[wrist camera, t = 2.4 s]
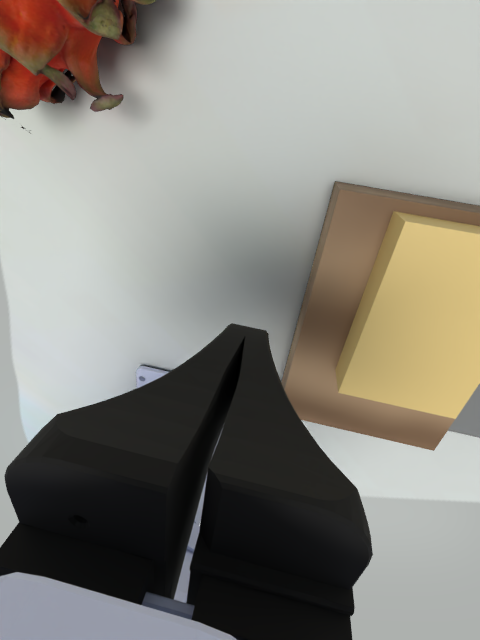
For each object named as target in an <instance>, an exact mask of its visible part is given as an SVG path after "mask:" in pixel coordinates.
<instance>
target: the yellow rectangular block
mask: <svg viewBox="0 0 480 640" xmlns="http://www.w3.org/2000/svg"><path fill="white" fill-rule="evenodd" d="M335 371H336V379H337V387H338V393H341V394H346V395H350V396H355V397H359V398H364V399H368V400H373V401H377V402H382V403H386V404H391V405H395V406H399V407H404V408H408V409H413V410H417V411H422V412H426V413H431V414H435V415H440V416H444V417H449V418H453V419H456V418H457V416H458V415H459V413H460V412H461V410H462V409H463V407H464V406H465V404H466V403H467V401H468V400H469V398H470V397H471V395H472V394H473V392H474V391H475V389H476V388H477V387H478V385H479V384H480V226H476V225H470V224H464V223H458V222H453V221H447V220H441V219H436V218H430V217H424V216H418V215H413V214H407V213H401V212H396V211H393V214H392V217H391V220H390V222H389V225H388V228H387V231H386V233H385V236H384V239H383V241H382V244H381V247H380V250H379V252H378V255H377V258H376V260H375V263H374V266H373V269H372V271H371V274H370V277H369V279H368V282H367V285H366V288H365V290H364V293H363V296H362V298H361V301H360V304H359V307H358V309H357V312H356V315H355V318H354V320H353V323H352V326H351V328H350V331H349V334H348V337H347V339H346V342H345V345H344V347H343V350H342V353H341V356H340V358H339V361H338V364H337V366H336V369H335Z"/></svg>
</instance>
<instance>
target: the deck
mask: <svg viewBox="0 0 480 640" xmlns="http://www.w3.org/2000/svg"><path fill="white" fill-rule="evenodd" d="M393 211H396V212H401V213H407V214H413V215H418V216H424V217H430V218H436V219H441V220H447V221H453V222H458V223H464V224H470V225H476V226H480V206H477V205H471V204H465V203H460V202H454V201H448V200H442V199H436V198H430V197H424V196H418V195H413V194H407V193H401V192H395V191H389V190H383V189H377V188H371V187H365V186H360V185H354V184H348V183H342V182H336V181H335V183H334V187H333V190H332V194H331V198H330V202H329V205H328V209H327V213H326V217H325V220H324V224H323V228H322V232H321V235H320V239H319V243H318V247H317V250H316V254H315V258H314V262H313V266H312V269H311V273H310V277H309V281H308V284H307V288H306V292H305V296H304V299H303V303H302V307H301V311H300V314H299V318H298V322H297V326H296V329H295V333H294V337H293V341H292V344H291V348H290V352H289V356H288V359H287V363H286V367H285V371H284V375H283V378H282V382H281V383H282V386H283V388H284V390H285V392H286V394H287V396H288V398H289V400H290V402H291V404H292V406H293V408H294V410H295V411H296V413H297V415H298V416H299V418H300V420H305V421H309V422H313V423H318V424H322V425H326V426H330V427H335V428H339V429H343V430H348V431H352V432H356V433H361V434H365V435H369V436H373V437H378V438H382V439H386V440H391V441H395V442H399V443H403V444H408V445H412V446H416V447H421V448H425V449H429V450H435V448H436V447H437V445H438V444H439V442H440V441H441V439H442V438H443V436H444V435H445V433H446V432H447V430H448V429H449V427H450V426H451V425H452V423H453V422H454V420H455V419H453V418H449V417H444V416H440V415H435V414H431V413H426V412H422V411H417V410H413V409H408V408H404V407H399V406H395V405H391V404H386V403H382V402H377V401H373V400H368V399H364V398H359V397H355V396H350V395H346V394H341V393H338V387H337V379H336V371H335V369H336V366H337V364H338V361H339V358H340V356H341V353H342V350H343V347H344V345H345V342H346V339H347V337H348V334H349V331H350V328H351V326H352V323H353V320H354V318H355V315H356V312H357V309H358V307H359V304H360V301H361V298H362V296H363V293H364V290H365V288H366V285H367V282H368V279H369V277H370V274H371V271H372V269H373V266H374V263H375V260H376V258H377V255H378V252H379V250H380V247H381V244H382V241H383V239H384V236H385V233H386V231H387V228H388V225H389V222H390V220H391V217H392V214H393Z"/></svg>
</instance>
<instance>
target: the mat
mask: <svg viewBox="0 0 480 640" xmlns="http://www.w3.org/2000/svg"><path fill="white" fill-rule="evenodd" d="M448 431H453V432H457V433H461V434H466V435H470V436H475V437H479V438H480V384H479V385H478V387H477V388H476V389H475V391H474V392H473V394H472V395H471V397H470V398H469V400H468V401H467V403H466V404H465V406H464V407H463V409H462V410H461V412H460V413H459V415H458V416H457V418H456V419H455V420H454V422H453V423H452V425H451V426H450V427H449V429H448Z"/></svg>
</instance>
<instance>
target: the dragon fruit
mask: <svg viewBox="0 0 480 640" xmlns="http://www.w3.org/2000/svg"><path fill="white" fill-rule="evenodd" d="M155 1H156V0H121V2H122V6H123V9H124V15H125V17H124V18H123V14H122V12H121V11H120V9H118V4H119V0H0V116H1V117H2V116H3V117H6V118H13V119H14V117H13V115H12V114H11V112H10V111H9V108H12V109H17V110H25V109H32V108H33V107H35V106H36V105H38V104H39V101H40V100H42V101H45V102H51V103H53V104H55V103H62V102H63V101H64V99H65V93H66V94H67V95H68V96H69V97H70V98H71V99H72V100H74V98H75V97H76V89H75V86H74V85H73V83H74V82H75V81H77V83H78V85H79V86H80V87H81V88H82V89H84V90H85V91H86V92H87V93H88V94H90V95H91V96H93V97H95V98H97V99H96V100H94V101H93V102H92V104H91V107H90V109H91V110H93V111H94V112H97V111H102V110H105V109H109V110H110V109H112V108H114V107H116V106H118V105H119V104H120V103H121V101H122V100H123V95H122V94H120V95H111V94H106V93H105V92H104V91H103V89H102V87H101V85H100V81H99V71H98V66H97V48H98V45H99V42H100V40H101V38H102V37H107V38H111V39H114V40H115V41H116V42H117V43H119V44H123V45H130V44H133V43H134V41H135V38H136V28H135V26H136V21H137V9H136V5H135V2H136V3H139V4H143V5H148V4H151V3H153V2H155ZM65 69H68V71H67V72H65V73H64V74H63V73H62V72H63V71H64V70H65ZM71 73H72V74H73V76H71ZM55 85H56V86H55ZM54 86H55V88H54V89H53V87H54ZM52 89H53V91H52ZM5 120H6V119H5ZM21 128H23V129H24V127H21ZM25 129H26V128H25ZM29 133H30V132H29Z"/></svg>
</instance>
